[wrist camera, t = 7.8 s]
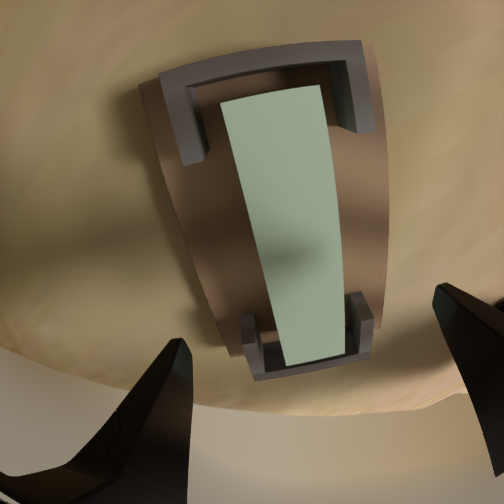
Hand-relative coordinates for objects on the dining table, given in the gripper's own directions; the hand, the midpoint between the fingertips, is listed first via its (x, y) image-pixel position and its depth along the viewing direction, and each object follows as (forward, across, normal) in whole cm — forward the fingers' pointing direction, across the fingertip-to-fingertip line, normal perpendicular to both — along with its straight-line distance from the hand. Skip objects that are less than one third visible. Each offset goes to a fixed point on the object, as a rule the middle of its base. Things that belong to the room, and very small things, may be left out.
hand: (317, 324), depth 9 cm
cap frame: (+8, 0, 0) cm, 8 cm away
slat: (+7, 0, 0) cm, 7 cm away
